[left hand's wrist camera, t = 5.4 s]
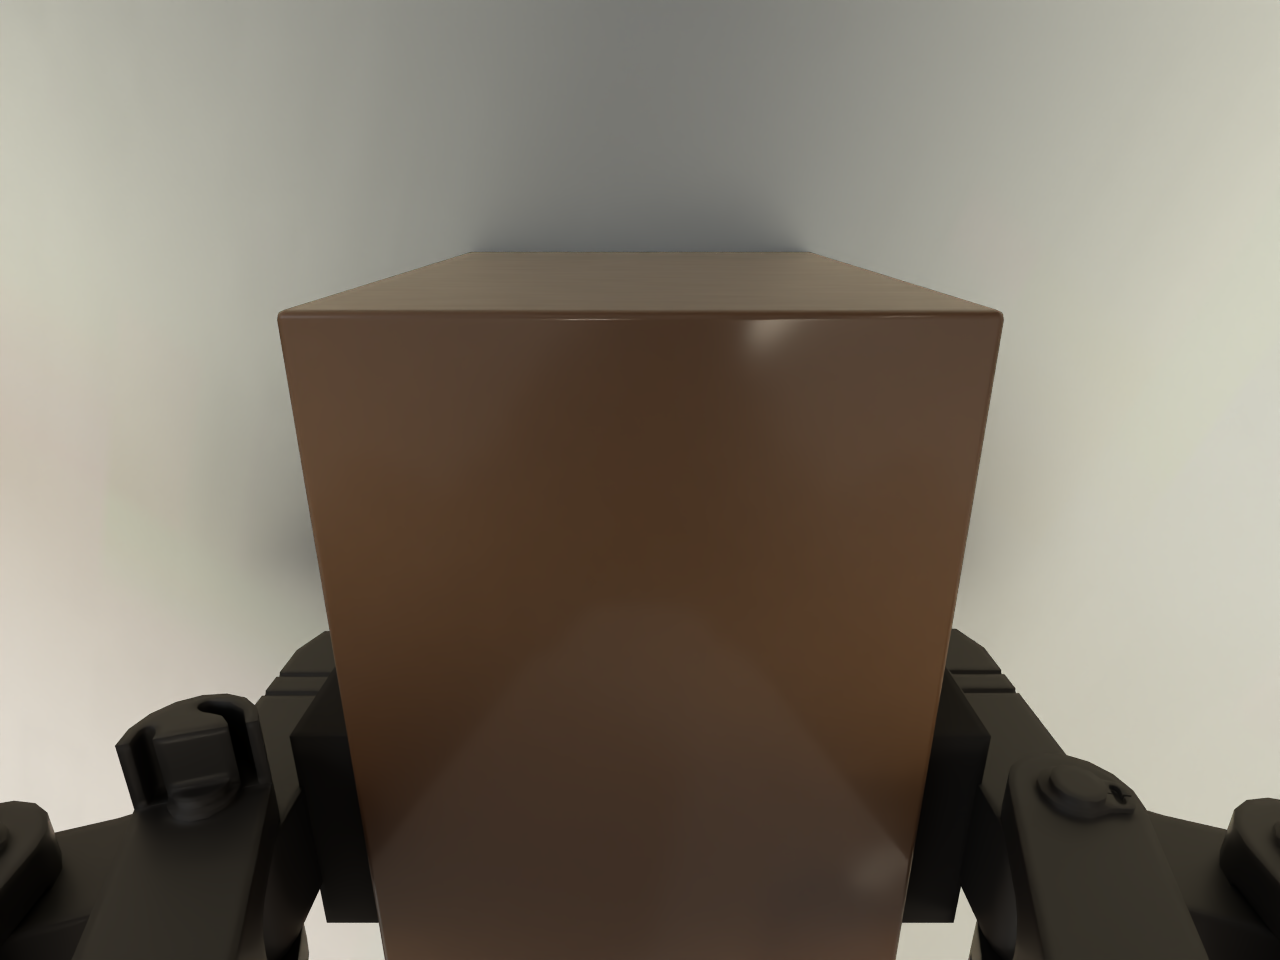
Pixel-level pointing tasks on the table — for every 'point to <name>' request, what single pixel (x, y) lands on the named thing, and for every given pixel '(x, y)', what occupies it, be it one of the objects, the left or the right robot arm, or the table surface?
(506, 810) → the beam
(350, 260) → the table surface
